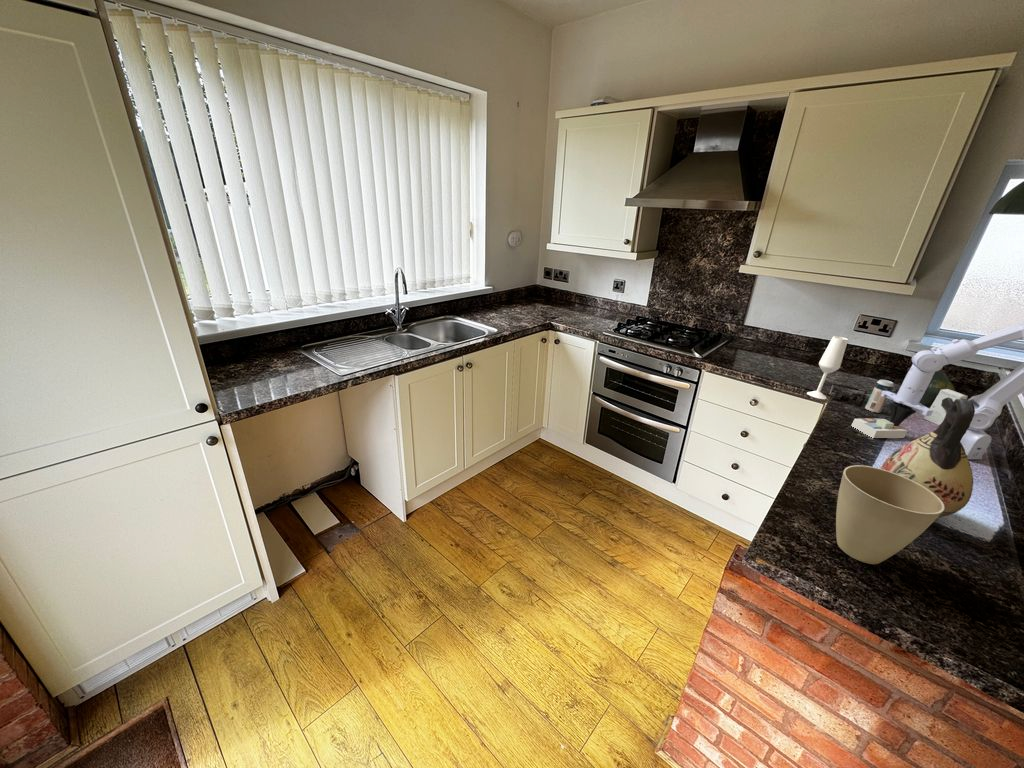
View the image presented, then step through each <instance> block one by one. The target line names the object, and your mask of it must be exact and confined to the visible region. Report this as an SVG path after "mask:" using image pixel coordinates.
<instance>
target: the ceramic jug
mask: <svg viewBox="0 0 1024 768" xmlns="http://www.w3.org/2000/svg"><path fill="white" fill-rule="evenodd" d="M941 406H942V407H943V408H944V410H945V411H946V416H945V418H944V420H943V422H942V423H941V424H940V425H938V426H937V428H936V429H935V430H932V431H931V432H929V433H927V434H925V435H923V436H920V437H918V438H916V439H914V440H912V441H910V442H908V443H907V444H904V445H902V446H901V447H900V448H898V449H896V450H894V452H893V453H891V454H890V455H889V456H888V457H887V458H886V459H885V460H884V462H883V464H882V465H881V466H880V467H879V469H883V470H887V471H890V472H893V473H895V474H898V475H901V476H903V477H906V478H908V479H910V480H912V481H914V482H916V483H918V484H920V485H922V486H923V487H925V488H927V489H928V490H930V491H931V492H933V493H934V494H935V495H936V496H937V497H938V498H939V499H940V500H941V501H942V502H943V504H944V507H945V508H944V511H943V512H942V513H941V514H940V515H939V516H938V517H937V518H936V520H935V521H934V522H933V523H935V522H936V521H937V520H938V518H942V517H943V518H944V517H947V516H951V515H954V514H956V513H958V512H959V511H962V509H964V508H965V507H966V506H967V504H968V503H969V501H970V500H971V497H972V494H973V488H974V476H973V470H972V467H971V462H970V461H969V460H970V459H968V456H967V455H966V453H965V449H964V447H963V445H962V444H961V442H960V441H961V439H962V437H963V436H964V434H965V433H966V431H967V429H968V428H969V427H970V423H971V422H972V419H973V417H974V413H975V408H974V404H973V402H972V401H969V400H968V398H967V399H956V400H955V401H954V402H953V400H952V399H951V398H949V397H948V398H945V399H943V400H942V404H941Z"/></svg>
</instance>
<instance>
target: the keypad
mask: <svg viewBox="0 0 1024 768" xmlns="http://www.w3.org/2000/svg"><path fill="white" fill-rule="evenodd" d="M878 419H880V418H876V417H875V418H873V417H872V418H865V417H863V418H854V419H853V421H852V423H851V425H850V427H851V426H852V428H853V427H854V428H853V429H855V428H856V429H855V430H857V429H858V430H859V432H860V431H861V432H860V433H862V432H863V433H862V434H864V435H865V434H866V435H865V436H867V435H868V436H867V437H869V436H870V437H869V438H871V437H872V438H871V439H873V438H904V439H905V437H906V435H907V433H908V431H909V430H907V429H906V428H903V427H902V429H894V428H892V429H884V428H882V429H874V428H872V427H870V426H868V425H866V424H865V423H875V424H876V422H877V420H878ZM858 430H857V431H858Z"/></svg>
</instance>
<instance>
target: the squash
mask: <svg viewBox="0 0 1024 768" xmlns="http://www.w3.org/2000/svg"><path fill="white" fill-rule="evenodd" d="M943 389H949V390H952V391H955V392H957V391H956V389H955V386H954V385H953V383H952V382H951V381H950V379H949V377H948V376H947V374H946V373H945V372H944V370H939V371H935V373H934V375H933V377H932V379H931V381H930V383H929V385H928V387H927V389H926V391H925V393H924V394H923V396H922V398H921V400H920V402H919V403H921V404H922V405H924V406H926V407H927V408H929V409H930V407H931V406H932V404H933V402H934V401H935V399H936V397H937V396H938V394H939V392H940V390H943Z"/></svg>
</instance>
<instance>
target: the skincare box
mask: <svg viewBox="0 0 1024 768" xmlns="http://www.w3.org/2000/svg"><path fill="white" fill-rule="evenodd" d="M955 391H956V390H955ZM955 391H952V390H949V389H943V390H940V392H939V394H938V396H937V397H936V399H935V401H934V402H933V404H932V406H931V407H930V408H929V409H931V410H933V412H932V414H931V416H924V417H923V420H926V421H928V422H931V423H933V424H936V425H938V426H939V425H940V424H941V423H942V422H943V420H944V418H945V416H946V411H945V410H944V408H943V407H942V406H941V404H942V400H943V399H945V398H948V397H949V398H951V399H952V400H953V402H954V401H955V400H956V399H967V400H968V395H966V394H963V393H960V392H957V391H956V392H955Z"/></svg>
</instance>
